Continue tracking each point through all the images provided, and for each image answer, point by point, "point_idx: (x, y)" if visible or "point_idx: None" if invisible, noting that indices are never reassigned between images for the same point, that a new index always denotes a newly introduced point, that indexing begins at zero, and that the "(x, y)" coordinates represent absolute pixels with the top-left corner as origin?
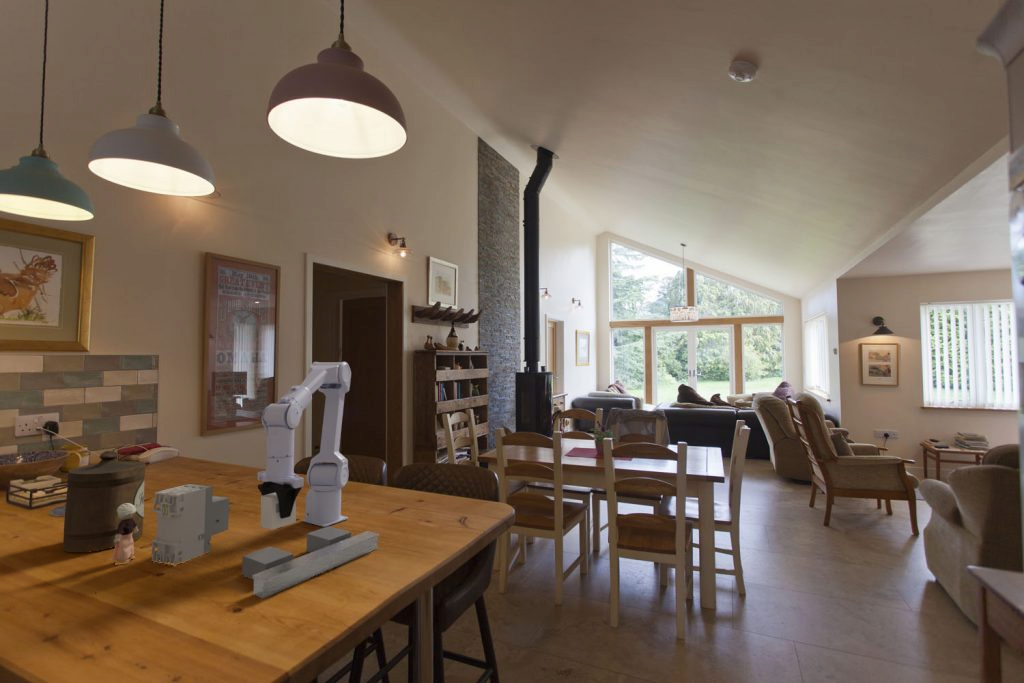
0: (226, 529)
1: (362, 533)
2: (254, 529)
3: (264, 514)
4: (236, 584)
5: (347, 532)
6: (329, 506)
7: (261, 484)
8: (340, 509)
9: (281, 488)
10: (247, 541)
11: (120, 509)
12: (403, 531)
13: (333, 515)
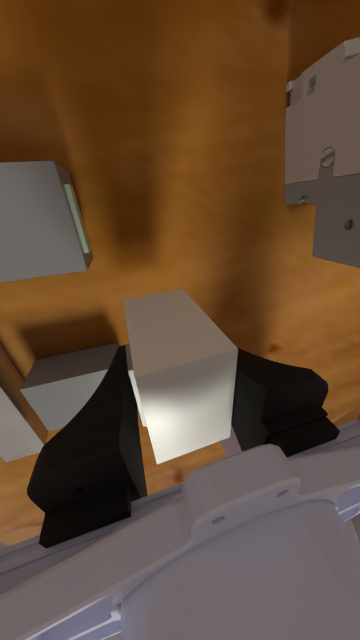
0: (314, 251)
1: (36, 441)
2: (303, 317)
3: (177, 312)
4: (4, 120)
5: (51, 425)
6: None
7: (316, 398)
8: None
9: (59, 483)
10: (266, 285)
11: None
12: None
13: None
